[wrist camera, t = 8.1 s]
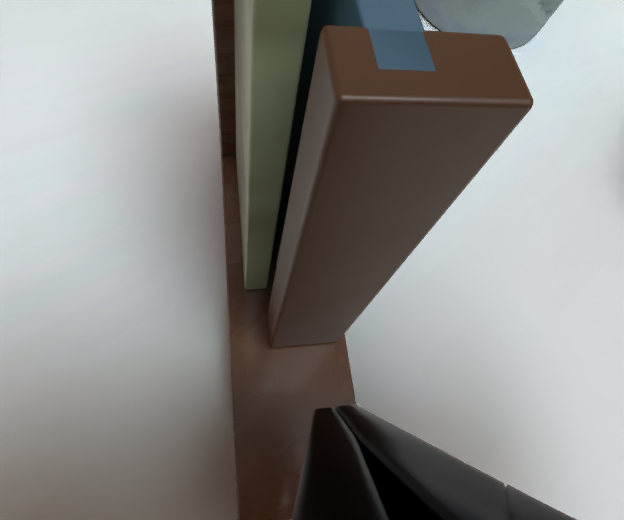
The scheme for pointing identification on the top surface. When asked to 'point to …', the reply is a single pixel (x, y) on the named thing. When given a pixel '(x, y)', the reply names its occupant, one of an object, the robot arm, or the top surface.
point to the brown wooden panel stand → (265, 254)
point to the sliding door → (378, 154)
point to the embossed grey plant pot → (490, 17)
